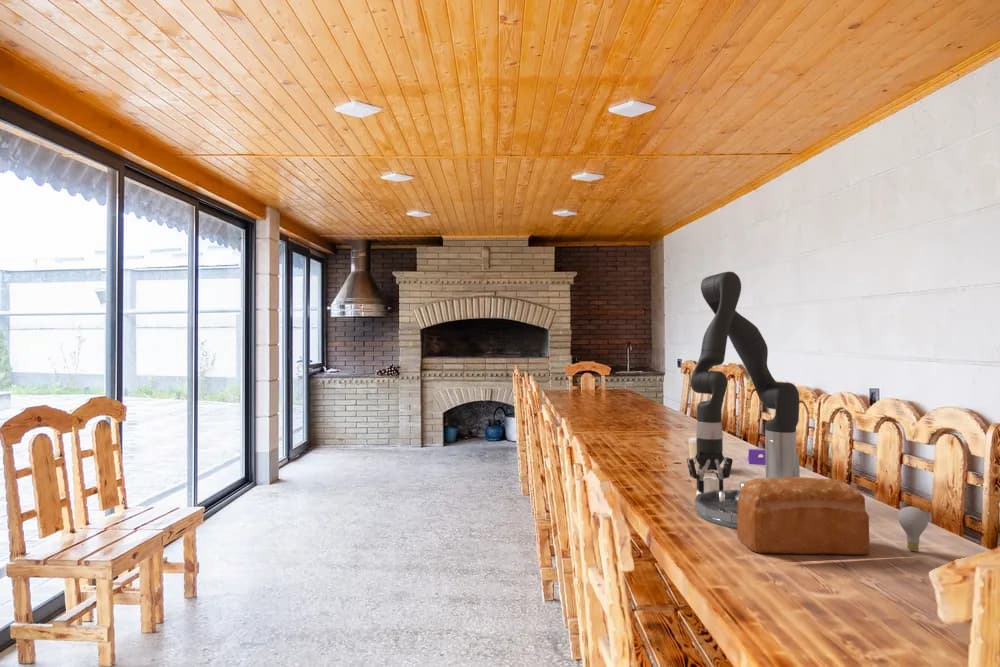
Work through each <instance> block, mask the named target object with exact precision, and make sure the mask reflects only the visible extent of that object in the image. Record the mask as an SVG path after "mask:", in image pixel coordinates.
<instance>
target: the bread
mask: <svg viewBox="0 0 1000 667" xmlns="http://www.w3.org/2000/svg"><path fill="white" fill-rule="evenodd" d="M746 481H747V482H746V483H745V484H743V485H742V487H741V492H740V496H739V499H738V508H737V529H736V533H737V534H736V535H737V539H738V540H739V541H740V542H741V544H743V545H744V546H745V547H746V548H747V549H749V550H750V551H751V552H756V553H758V554H783V555H786V554H787V555H788V554H790V555H791V554H792V555H795V554H796V555H840V556H841V555H844V556H848V555H849V556H850V555H851V556H852V555H855V556H856V555H868V554H870V516H869V514H868V512H867V511H866V498H865V496H863V494H862V493H860V491H859V490H857V489H856V487H854V486H852V485H850V484H848V483H847V482H845V481H843V480H841V479H835V478H834V479H833V478H831V479H830V478H829V479H827V478H817V477H816V478H815V477H806V476H805V477H803V476H800V477H785V478H777V479H776V478H766V477H764V478H763V477H761V478H754V479H750V480H746Z"/></svg>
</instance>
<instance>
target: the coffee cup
mask: <svg viewBox="0 0 1000 667" xmlns="http://www.w3.org/2000/svg"><path fill="white" fill-rule="evenodd" d="M687 442H688V450H689V451H688V452H689V458H694V457H695V456H696V454H697V444H696V436H692V437H689V438H688V441H687ZM698 466H699V463H698V462H697V461H696V465H695V469H696V473H697V472H698V470H697V469H698ZM712 471H713V472H714V470H712V469H711V470H707V472H709V473H713V472H712Z"/></svg>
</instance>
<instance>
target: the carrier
mask: <svg viewBox="0 0 1000 667" xmlns="http://www.w3.org/2000/svg"><path fill="white" fill-rule="evenodd" d="M747 481H748V480H746V481H744V480H743V481H739V489H723V490H712V491H708V492H704V493H700V494H698V495H697V494H696V497H695V500H694V508H695V509H696V511H695V512H696V514H697V516H698V517H700V518H701V519H703V520H705V521H706V522H710V523H711V524H715V525H717V526H721V527H725V528H730V529H735V530H737V508H738V499H739V496H740V492H741V487H742V485H743V484H745V483H746V482H747Z"/></svg>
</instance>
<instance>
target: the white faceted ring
mask: <svg viewBox="0 0 1000 667" xmlns="http://www.w3.org/2000/svg"><path fill="white" fill-rule="evenodd" d="M703 481H704V492H708V491H712V490H719V479H718V478H717V477H714V476H704V478H703ZM698 494H700V492H699V490H696V496H697V495H698Z"/></svg>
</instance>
